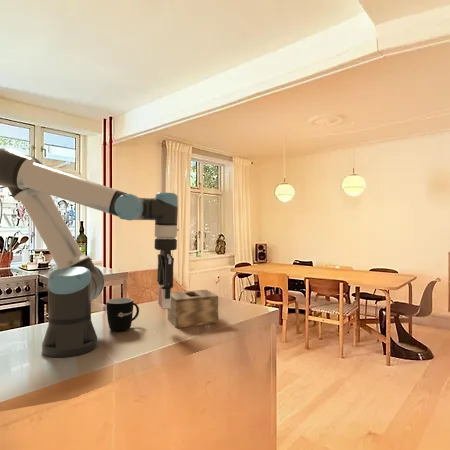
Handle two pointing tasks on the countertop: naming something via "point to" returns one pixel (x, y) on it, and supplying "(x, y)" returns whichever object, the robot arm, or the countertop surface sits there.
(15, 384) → the countertop surface
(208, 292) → the coin box
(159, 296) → the block
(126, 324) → the mug
